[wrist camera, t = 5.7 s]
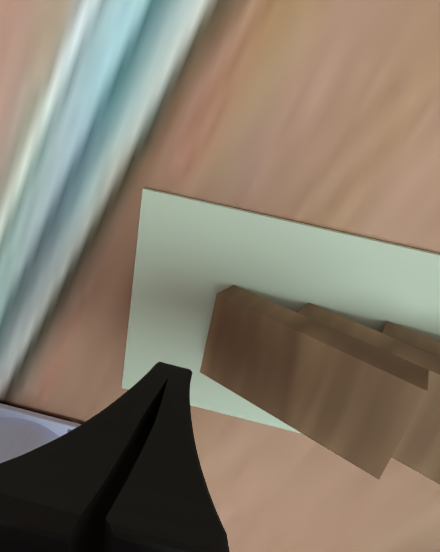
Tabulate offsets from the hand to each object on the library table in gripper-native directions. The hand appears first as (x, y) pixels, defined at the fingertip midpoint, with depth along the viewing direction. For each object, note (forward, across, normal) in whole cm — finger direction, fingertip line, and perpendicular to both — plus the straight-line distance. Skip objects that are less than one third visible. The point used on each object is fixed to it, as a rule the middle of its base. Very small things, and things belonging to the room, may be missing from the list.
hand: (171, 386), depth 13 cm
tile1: (+5, -1, 0) cm, 5 cm away
